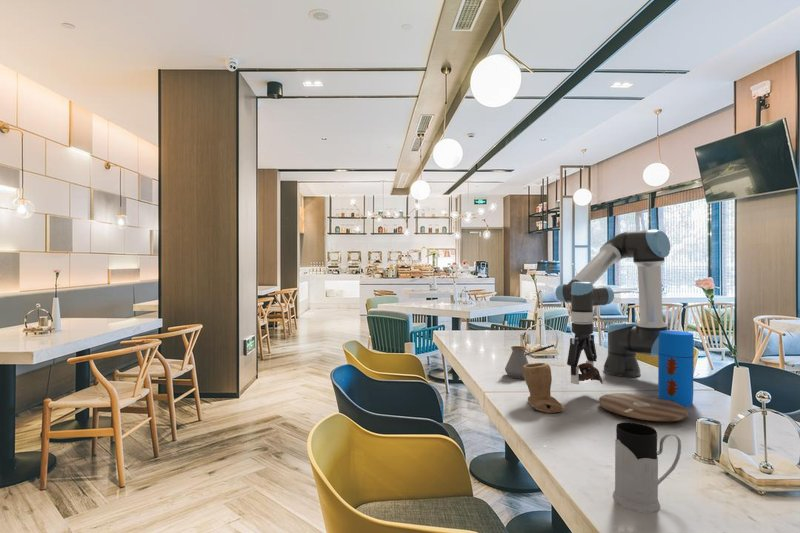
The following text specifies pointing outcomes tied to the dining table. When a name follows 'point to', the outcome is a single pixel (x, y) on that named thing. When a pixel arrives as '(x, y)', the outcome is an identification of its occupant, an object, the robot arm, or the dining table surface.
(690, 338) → the thermos
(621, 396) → the disc
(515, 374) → the coffee pot
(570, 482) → the dining table surface
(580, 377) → the pottery mug
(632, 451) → the glass holder
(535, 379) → the brown boot vase
